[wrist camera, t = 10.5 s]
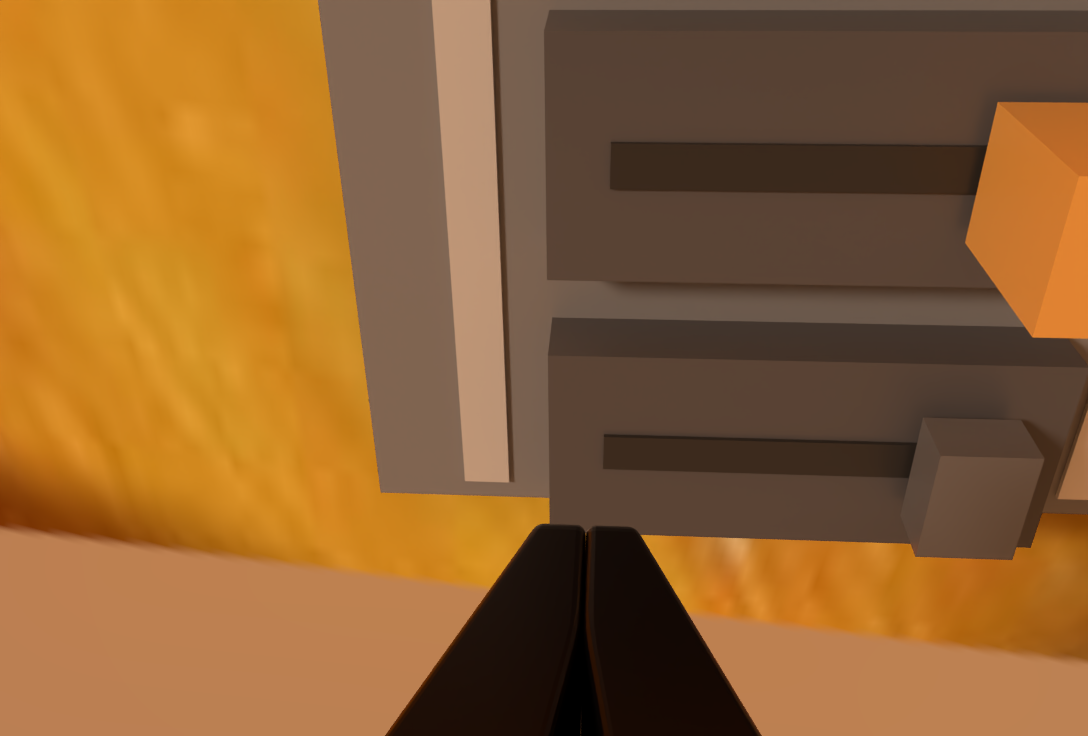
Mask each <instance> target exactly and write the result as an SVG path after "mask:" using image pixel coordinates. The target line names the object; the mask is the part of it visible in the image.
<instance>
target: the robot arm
mask: <svg viewBox="0 0 1088 736" xmlns="http://www.w3.org/2000/svg"><path fill="white" fill-rule="evenodd" d="M385 736H761V734H760V732H759V731H758V729H757V727H756V726H755V724H754V722H753V721H752V719H751V717H750V716H749V714H748V712H747V711H746V709H745V707H744V706H743V704H742V702H741V701H740V699H739V698H738V696H737V694H736V693H735V691H734V689H733V688H732V686H731V684H730V683H729V681H728V679H727V678H726V676H725V674H724V673H723V671H722V669H721V668H720V666H719V665H718V663H717V661H716V659H715V658H714V656H713V654H712V653H711V651H710V649H709V648H708V646H707V645H706V643H705V641H704V640H703V638H702V636H701V635H700V633H699V631H698V630H697V628H696V626H695V625H694V623H693V621H692V620H691V618H690V616H689V615H688V613H687V611H686V610H685V608H684V606H683V605H682V603H681V601H680V600H679V598H678V597H677V595H676V593H675V592H674V590H673V588H672V587H671V585H670V583H669V582H668V580H667V578H666V577H665V575H664V573H663V572H662V570H661V568H660V567H659V565H658V563H657V562H656V560H655V558H654V557H653V555H652V553H651V552H650V550H649V549H648V547H647V545H646V544H645V542H644V540H643V539H642V537H641V535H640V534H639V533H638V531H637V530H636V529H634V528H632V527H627V526H597V525H595V526H592V527H590V528H589V529H588V530H587V533H586V534H585V530H584V528H583V527H581V526H580V525H566V524H540V525H538V526H536V527H535V528H534V529H533V530H532V532H531V533H530V534H529V536H528V537H527V539H526V540H525V541H524V543H523V544H522V546H521V547H520V548H519V550H518V551H517V553H516V554H515V555H514V557H513V558H512V559H511V561H510V562H509V564H508V565H507V566H506V568H505V569H504V571H503V572H502V573H501V575H500V576H499V578H498V579H497V580H496V582H495V583H494V585H493V586H492V587H491V589H490V590H489V592H488V593H487V594H486V596H485V597H484V599H483V600H482V601H481V603H480V604H479V605H478V607H477V608H476V610H475V611H474V612H473V614H472V615H471V617H470V618H469V620H468V621H467V622H466V624H465V625H464V626H463V628H462V629H461V631H460V632H459V634H458V635H457V636H456V638H455V639H454V640H453V642H452V643H451V645H450V646H449V647H448V649H447V650H446V652H445V653H444V654H443V656H442V657H441V659H440V660H439V661H438V663H437V664H436V665H435V667H434V668H433V670H432V671H431V672H430V674H429V675H428V677H427V678H426V680H425V681H424V682H423V684H422V685H421V687H420V688H419V689H418V691H417V692H416V694H415V695H414V696H413V698H412V699H411V700H410V702H409V703H408V705H407V706H406V708H405V709H404V710H403V711H402V713H401V714H400V716H399V717H398V719H397V720H396V721H395V723H394V724H393V725H392V727H391V728H390V730H389V731H388V733H387V734H386V735H385Z"/></svg>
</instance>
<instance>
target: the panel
mask: <svg viewBox="0 0 1088 736" xmlns="http://www.w3.org/2000/svg"><path fill="white" fill-rule="evenodd" d="M318 4H319V12H320V20H321V27H322V35H323V43H324V51H325V59H326V67H327V74H328V82H329V90H330V98H331V106H332V114H333V121H334V129H335V137H336V145H337V153H338V161H339V168H340V176H341V184H342V192H343V200H344V208H345V215H346V223H347V231H348V239H349V247H350V255H351V262H352V270H353V278H354V286H355V294H356V301H357V309H358V317H359V325H360V333H361V341H362V348H363V356H364V364H365V372H366V380H367V388H368V395H369V403H370V411H371V419H372V427H373V435H374V442H375V450H376V458H377V466H378V474H379V482H380V489H381V492H385V493H417V494H449V495H481V496H513V497H545V498H550V524H566V525H580V526H581V527H583V528H584V530H585V533H587V530H588V529H589V528H590V527H592V526H595V525H597V526H627V527H632V528H634V529H636V530H637V531H638V533H639V534H640V535H665V536H695V537H725V538H755V539H785V540H815V541H845V542H875V543H905V544H911V546H912V548H913V551H914V554H915V556H916V557H941V558H970V559H999V560H1012V559H1013V556H1014V553H1015V550H1016V547H1026V548H1031V545H1032V542H1033V539H1034V536H1035V533H1036V530H1037V527H1038V524H1039V521H1040V518H1041V515H1042V513H1059V514H1088V339H1081V338H1033V337H1032V336H1031V335H1030V333H1029V332H1028V330H1027V329H1026V328H1025V326H1024V325H1023V323H1022V322H1021V321H1020V319H1019V318H1018V316H1017V315H1016V314H1015V312H1014V311H1013V309H1012V308H1011V307H1010V305H1009V304H1008V302H1007V301H1006V300H1005V298H1004V297H1003V295H1002V294H1001V293H1000V291H999V290H998V288H997V287H996V286H995V284H994V283H993V281H992V280H991V279H990V277H989V276H988V274H987V273H986V271H985V270H984V269H983V267H982V266H981V264H980V263H979V262H978V260H977V259H976V257H975V256H974V255H973V253H972V252H971V250H970V249H969V248H968V246H967V245H966V243H965V241H966V236H967V232H968V228H969V224H970V219H971V215H972V211H973V206H974V202H975V198H976V193H977V189H978V185H979V181H980V176H981V172H982V168H983V163H984V159H985V155H986V151H987V146H988V142H989V138H990V133H991V129H992V125H993V121H994V116H995V112H996V108H997V103H998V102H1053V103H1088V0H318Z"/></svg>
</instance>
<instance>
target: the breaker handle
mask: <svg viewBox="0 0 1088 736" xmlns="http://www.w3.org/2000/svg"><path fill="white" fill-rule="evenodd" d="M965 243H966V245H967V246H968V248H969V249H970V250H971V252H972V253H973V255H974V256H975V257H976V259H977V260H978V262H979V263H980V264H981V266H982V267H983V269H984V270H985V271H986V273H987V274H988V276H989V277H990V279H991V280H992V281H993V283H994V284H995V286H996V287H997V288H998V290H999V291H1000V293H1001V294H1002V295H1003V297H1004V298H1005V300H1006V301H1007V302H1008V304H1009V305H1010V307H1011V308H1012V309H1013V311H1014V312H1015V314H1016V315H1017V316H1018V318H1019V319H1020V321H1021V322H1022V323H1023V325H1024V326H1025V328H1026V329H1027V330H1028V332H1029V333H1030V335H1031V336H1032V337H1033V338H1081V339H1088V103H1053V102H998V103H997V108H996V112H995V116H994V121H993V125H992V129H991V133H990V138H989V142H988V146H987V151H986V155H985V159H984V163H983V168H982V172H981V176H980V181H979V185H978V189H977V193H976V198H975V202H974V206H973V211H972V215H971V219H970V224H969V228H968V232H967V236H966V241H965Z"/></svg>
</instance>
